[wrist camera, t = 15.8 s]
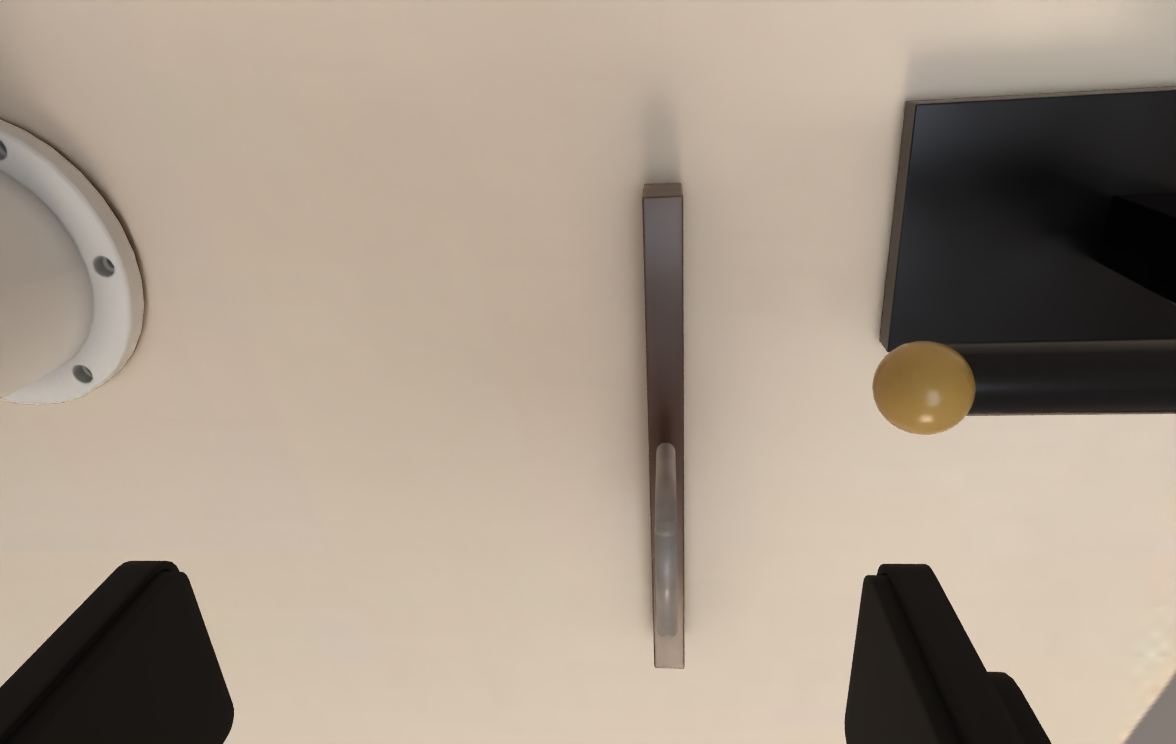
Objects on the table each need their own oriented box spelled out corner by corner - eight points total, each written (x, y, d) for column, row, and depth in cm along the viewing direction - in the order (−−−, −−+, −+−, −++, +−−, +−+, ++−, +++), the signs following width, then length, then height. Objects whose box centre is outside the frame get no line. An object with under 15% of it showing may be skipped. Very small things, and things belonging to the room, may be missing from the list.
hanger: (655, 630, 37) (651, 812, 28) (644, 184, 28) (634, 253, 19) (683, 631, 37) (688, 814, 28) (681, 182, 27) (689, 251, 19)
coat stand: (778, 343, 30) (881, 626, 16) (790, 107, 26) (937, 200, 12) (1178, 334, 28) (1698, 643, 14) (1253, 81, 24) (2066, 153, 10)
